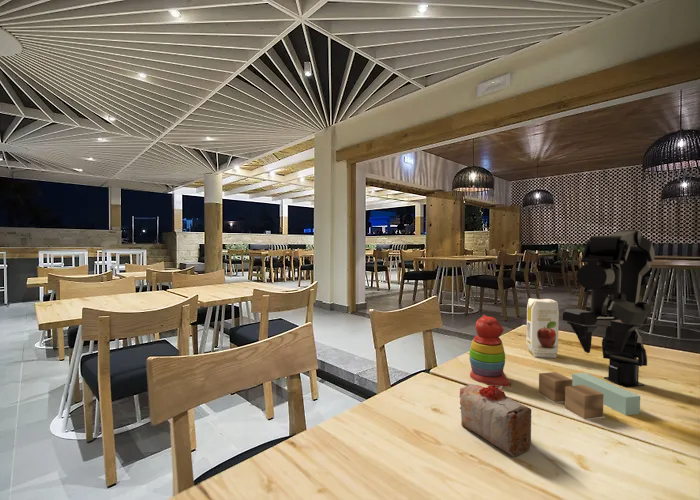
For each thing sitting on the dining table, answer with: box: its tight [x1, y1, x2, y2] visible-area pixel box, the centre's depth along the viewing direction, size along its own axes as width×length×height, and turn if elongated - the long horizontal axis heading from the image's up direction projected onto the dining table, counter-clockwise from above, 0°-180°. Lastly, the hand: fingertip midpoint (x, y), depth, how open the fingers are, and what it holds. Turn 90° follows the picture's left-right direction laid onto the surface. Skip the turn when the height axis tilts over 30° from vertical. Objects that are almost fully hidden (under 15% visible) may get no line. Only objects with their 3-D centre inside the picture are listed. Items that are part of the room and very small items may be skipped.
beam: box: [571, 372, 641, 416], centre depth 83 cm, size 14×4×4 cm, turn 12°
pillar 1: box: [538, 371, 572, 403], centre depth 85 cm, size 5×5×5 cm
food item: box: [459, 383, 532, 457], centre depth 69 cm, size 14×8×10 cm, turn 28°
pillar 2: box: [564, 385, 604, 420], centre depth 77 cm, size 5×5×5 cm
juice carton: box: [526, 297, 560, 359], centre depth 118 cm, size 8×9×19 cm
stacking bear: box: [469, 314, 511, 388], centre depth 96 cm, size 11×10×18 cm
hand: (603, 352), depth 83 cm, fingers open, 9 cm apart
